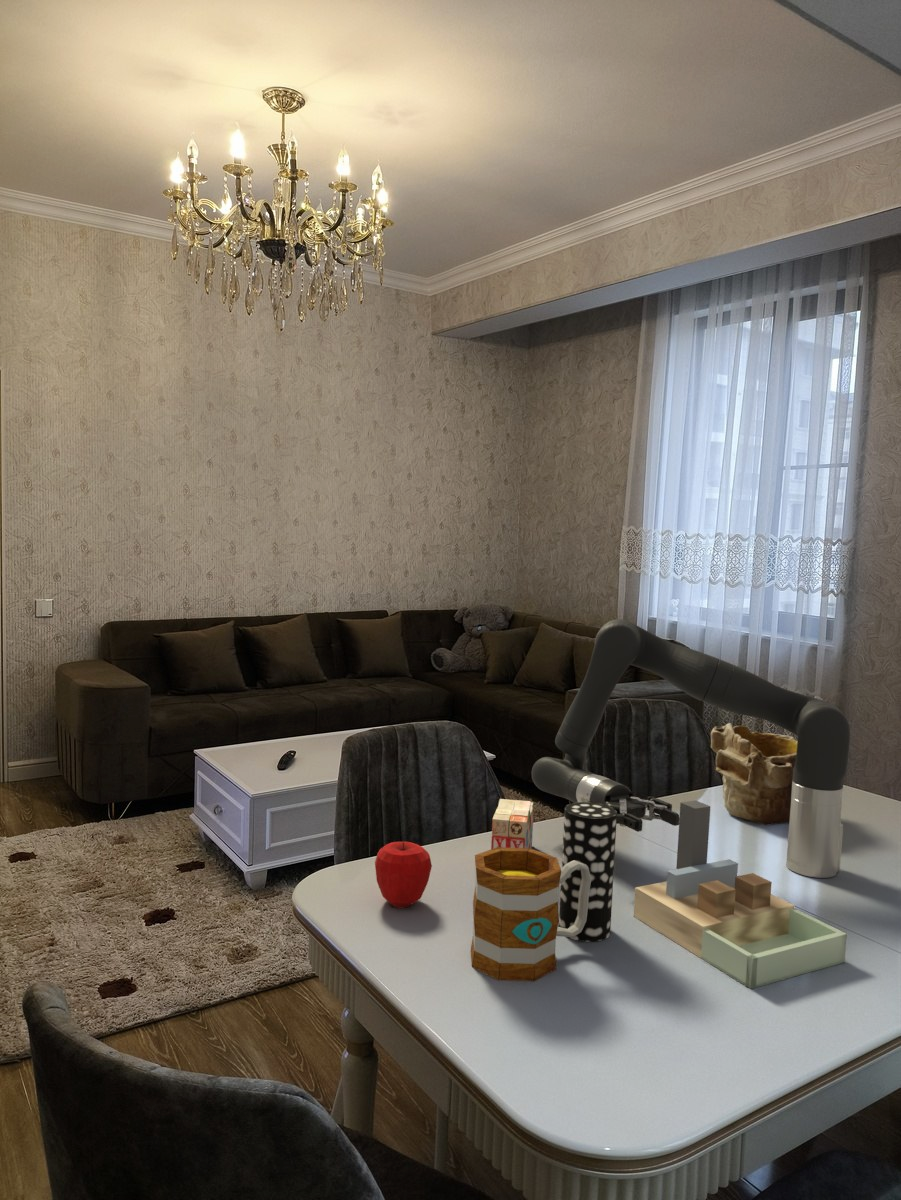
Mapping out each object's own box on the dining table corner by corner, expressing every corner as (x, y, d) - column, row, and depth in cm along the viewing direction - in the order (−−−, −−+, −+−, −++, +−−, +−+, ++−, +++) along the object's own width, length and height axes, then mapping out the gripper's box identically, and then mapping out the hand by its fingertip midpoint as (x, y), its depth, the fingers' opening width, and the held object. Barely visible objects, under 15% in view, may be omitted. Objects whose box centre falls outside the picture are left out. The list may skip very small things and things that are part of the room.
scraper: (713, 874, 158) (718, 797, 156) (736, 885, 153) (741, 806, 152) (651, 886, 151) (656, 806, 150) (674, 899, 146) (679, 815, 145)
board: (720, 897, 160) (722, 870, 160) (792, 934, 146) (794, 905, 146) (633, 916, 151) (635, 887, 150) (700, 958, 137) (703, 926, 136)
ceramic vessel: (864, 795, 199) (810, 710, 194) (784, 864, 196) (726, 780, 191) (802, 766, 221) (752, 689, 216) (729, 828, 218) (676, 752, 213)
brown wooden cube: (715, 904, 145) (717, 880, 144) (734, 914, 141) (735, 889, 141) (697, 908, 143) (698, 884, 143) (715, 918, 139) (716, 893, 139)
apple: (440, 908, 151) (442, 846, 150) (390, 919, 146) (392, 855, 145) (412, 887, 159) (414, 828, 158) (364, 897, 154) (365, 836, 153)
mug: (492, 989, 125) (496, 885, 124) (453, 946, 137) (457, 852, 136) (610, 966, 133) (615, 869, 132) (563, 928, 145) (568, 838, 144)
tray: (792, 934, 146) (794, 908, 146) (844, 962, 137) (846, 933, 137) (700, 958, 137) (702, 929, 136) (750, 989, 128) (752, 958, 127)
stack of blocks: (502, 843, 184) (504, 785, 183) (532, 846, 183) (535, 787, 182) (489, 883, 163) (492, 817, 162) (523, 887, 162) (526, 821, 161)
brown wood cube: (751, 896, 149) (752, 873, 148) (769, 905, 145) (771, 881, 145) (733, 900, 147) (735, 876, 146) (752, 909, 143) (753, 885, 143)
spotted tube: (598, 947, 139) (605, 822, 137) (550, 932, 143) (556, 811, 142) (617, 927, 146) (624, 808, 144) (571, 914, 150) (577, 799, 149)
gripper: (575, 782, 170) (629, 807, 156) (633, 775, 177) (691, 798, 163) (573, 820, 171) (627, 848, 157) (631, 812, 178) (688, 838, 163)
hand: (659, 823), depth 160 cm, fingers open, 8 cm apart
